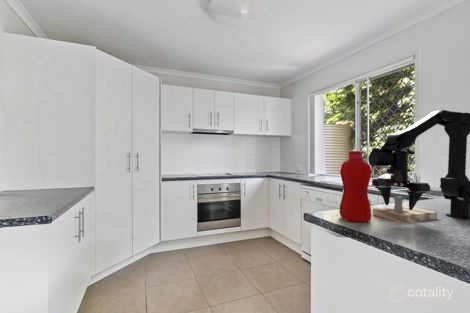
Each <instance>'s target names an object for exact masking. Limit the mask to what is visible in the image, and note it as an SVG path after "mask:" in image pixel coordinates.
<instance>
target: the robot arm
mask: <svg viewBox="0 0 470 313" xmlns="http://www.w3.org/2000/svg"><path fill="white" fill-rule="evenodd" d="M436 125H439V126H442V127H444V128H443V129H444V132H445V133H446V134H447V135H448V138H449V139H448V140H449V141H448V157H447V158H448V161H447V163H448V164H447V174H446V176H444V177H440V179H439V180H440V181H439V182H440V185H439V189H440V190H441V193H442V194H443V197H444V199H445V200H450V205H449V206H450V208H449V210H450V212H449V213H446V214H445V216H448V217H453V218H458V219H463V220H470V179H469V178H468V176H467V175H466V174H467V173H466V171H467V170H466V169H467V168H466V167H467V166H466V165H467V145H468V136H469V135H470V112H460V111H450V110H445V109H440V110H434V111H432V112H430V113H429V114H428V115H426V116H424V117H423V118H422V119H420V120H418V121H416V122H415V123H414V124H412V125H410V126H409V127H407V128H406V129H402V130H399V131H397V132H394V133H391V134H390V135H388V136H387V137H386V141H385V143H384V144H383V146H382V147H381V148H380V147H378V148H377V147H373V148H371V152H370V153H369V155H368V158H367V160H368V164H369V165H370V167H389V168H387V169H386V173H384V174H381V175H379V176H378V177H377V178H373V179H372V181H371V186H372V185H373V186H372V187H374V188H375V189H377V190H378V191H379V192H380V195H381V196H382V199H383V201H384V204H385V206H389V204H390V200H391V193H392V187H395V188H404V189H407V191H406V193H407V194H408V207H409V210H413V208H415V207H416V205H417V203H418V201H419V200H420V198H421V197H422V196H423V194H427V192H430V191H431V186H430V185H429V183H428V182H419V181H417V182H416V181H413V182H411V180H410V179H409V173H411V169H410V168H409V155H414V154H415V152H414V151H413V150H411V148H409V147H410V146H411V145H412V144H413V143H415V142H416V139H417V138H418V137H419V136H420V135H422V134H424V133H426V132H427V131H428V130H430V129H432V128H433V127H435V126H436Z"/></svg>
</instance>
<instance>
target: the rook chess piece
mask: <svg viewBox="0 0 470 313" xmlns="http://www.w3.org/2000/svg"><path fill="white" fill-rule="evenodd" d="M392 200H394V203H393V204H394V206H393V207H394V210H393V211H394V212H398V213H404V211H403V207H402V206H403V204H404V202H403V201H404V198H403V196H402V195H401V196H400V195H394V197H393V199H392Z"/></svg>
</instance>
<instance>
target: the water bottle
mask: <svg viewBox="0 0 470 313" xmlns="http://www.w3.org/2000/svg"><path fill="white" fill-rule="evenodd" d="M339 174H340V178H341V182H342V187H343V189H342V190H343V192H342V197H341V201H340V205H339V215H340V218H342V219H344V220H345V221H347V222H351V223H368V222H370V221H371V219H372V208H371V204H370V200H369V195H368V191H369V190H368V188H371V187H374V186H373V185H372V184H371V186H370V181H371V178H372V180H373V179H374V176H373V172H372V169H371V165H370V164H369V162H367V161H365V160H364V156H363V152H362V151H359V150H351V151H349V152H348V159H347V160H345V161H344V162H343V163H342V164H341V166H340V171H339Z"/></svg>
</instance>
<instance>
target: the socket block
mask: <svg viewBox="0 0 470 313" xmlns="http://www.w3.org/2000/svg"><path fill="white" fill-rule="evenodd" d="M402 207H403V211H404V213H398V212H394V211H393V210H394V206H389V207H388V206H386V207H376V208H372V210H371V216H372V215H373V216H375V215H376V216H375V217H379V216H380V217H379V218H382V217H384V218H383V219H386V218H387V220H390V219H391V221H394V220H395V221H394V222H397V221H398V222H399V223H403V224H404V223H413V222H422V221H429V220H430V221H431V220H437V219H438V211H433V210H429V209H424V208H418V207H414V208H413V210H409V205H408V206H407V205H402Z"/></svg>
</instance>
